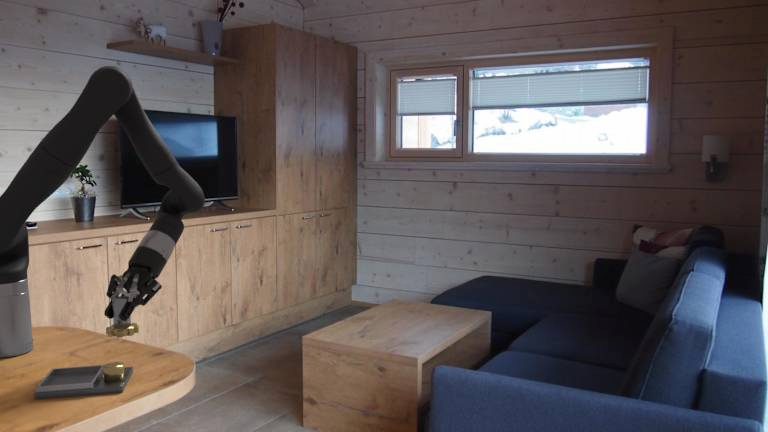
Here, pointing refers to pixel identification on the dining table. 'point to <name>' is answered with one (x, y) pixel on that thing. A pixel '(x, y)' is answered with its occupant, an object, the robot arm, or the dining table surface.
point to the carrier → (84, 381)
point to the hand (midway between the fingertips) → (115, 317)
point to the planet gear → (120, 326)
